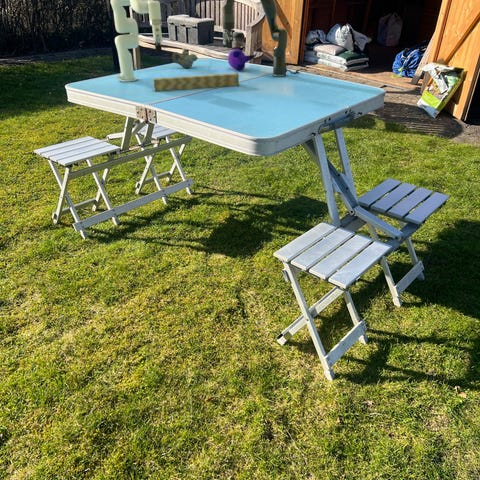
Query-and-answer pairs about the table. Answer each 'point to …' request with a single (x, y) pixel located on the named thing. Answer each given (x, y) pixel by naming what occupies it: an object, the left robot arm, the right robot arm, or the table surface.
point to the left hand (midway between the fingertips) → (158, 50)
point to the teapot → (184, 59)
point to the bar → (196, 82)
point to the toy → (238, 59)
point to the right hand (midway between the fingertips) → (229, 47)
